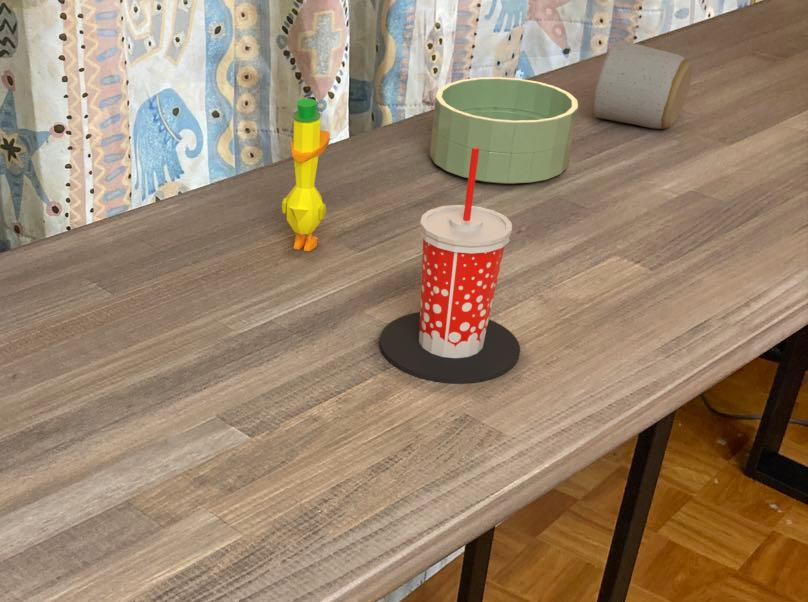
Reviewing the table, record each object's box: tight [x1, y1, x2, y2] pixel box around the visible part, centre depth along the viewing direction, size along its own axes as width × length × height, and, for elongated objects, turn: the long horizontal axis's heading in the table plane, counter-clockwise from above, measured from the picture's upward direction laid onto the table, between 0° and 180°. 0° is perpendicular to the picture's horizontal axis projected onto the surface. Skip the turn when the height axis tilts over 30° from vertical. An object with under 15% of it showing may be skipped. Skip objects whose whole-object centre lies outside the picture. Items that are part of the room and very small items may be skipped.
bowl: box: [429, 76, 579, 185], centre depth 108 cm, size 13×13×6 cm
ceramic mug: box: [592, 39, 693, 130], centre depth 118 cm, size 11×8×8 cm
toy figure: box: [281, 98, 331, 252], centre depth 91 cm, size 7×4×12 cm, turn 159°
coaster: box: [379, 311, 521, 384], centre depth 81 cm, size 10×10×1 cm
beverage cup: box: [419, 146, 513, 358], centre depth 76 cm, size 6×6×14 cm
